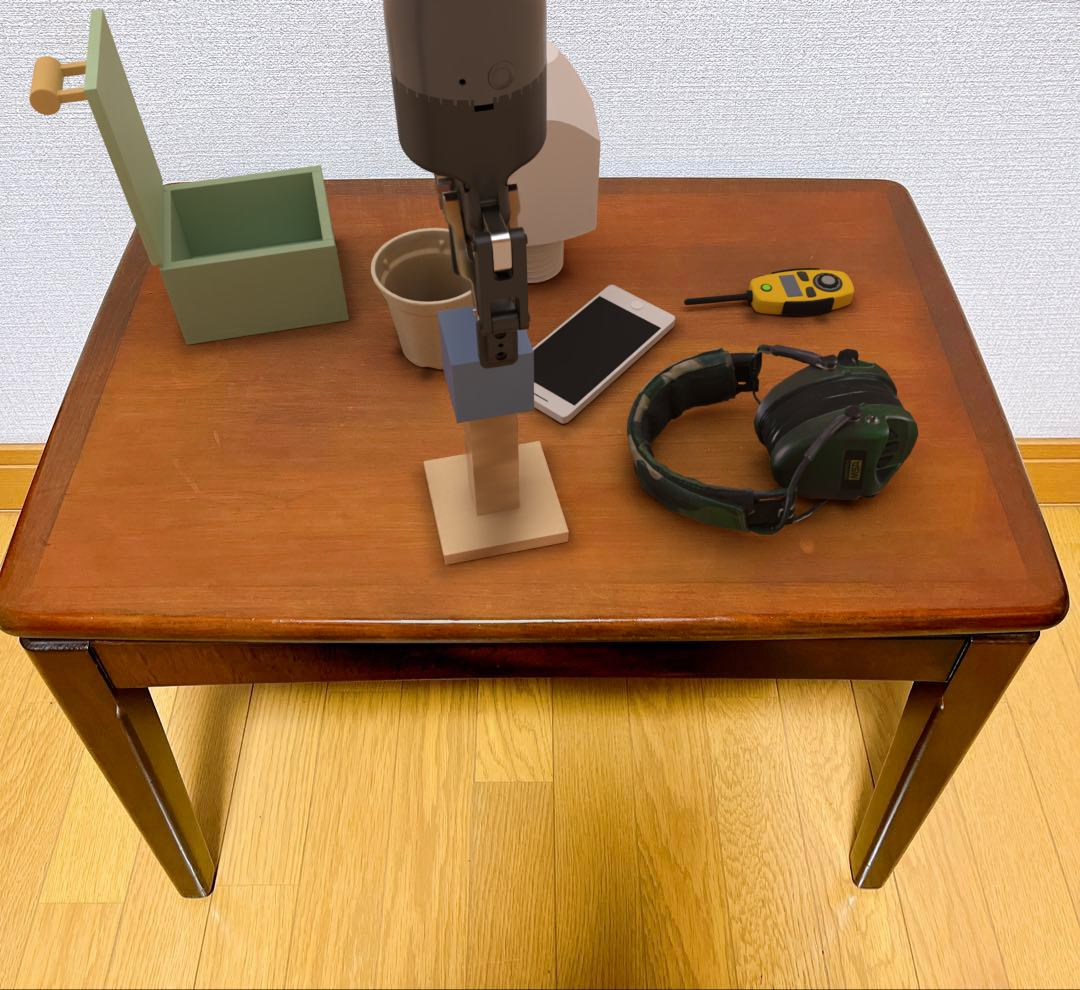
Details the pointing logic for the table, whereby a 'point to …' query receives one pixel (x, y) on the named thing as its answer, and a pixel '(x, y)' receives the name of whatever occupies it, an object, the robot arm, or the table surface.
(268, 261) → the chest
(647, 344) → the smartphone
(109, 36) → the lid
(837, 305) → the yellow walkie talkie
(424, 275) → the flower pot
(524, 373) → the block
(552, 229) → the light fixture
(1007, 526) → the table surface
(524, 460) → the post
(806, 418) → the headphones
